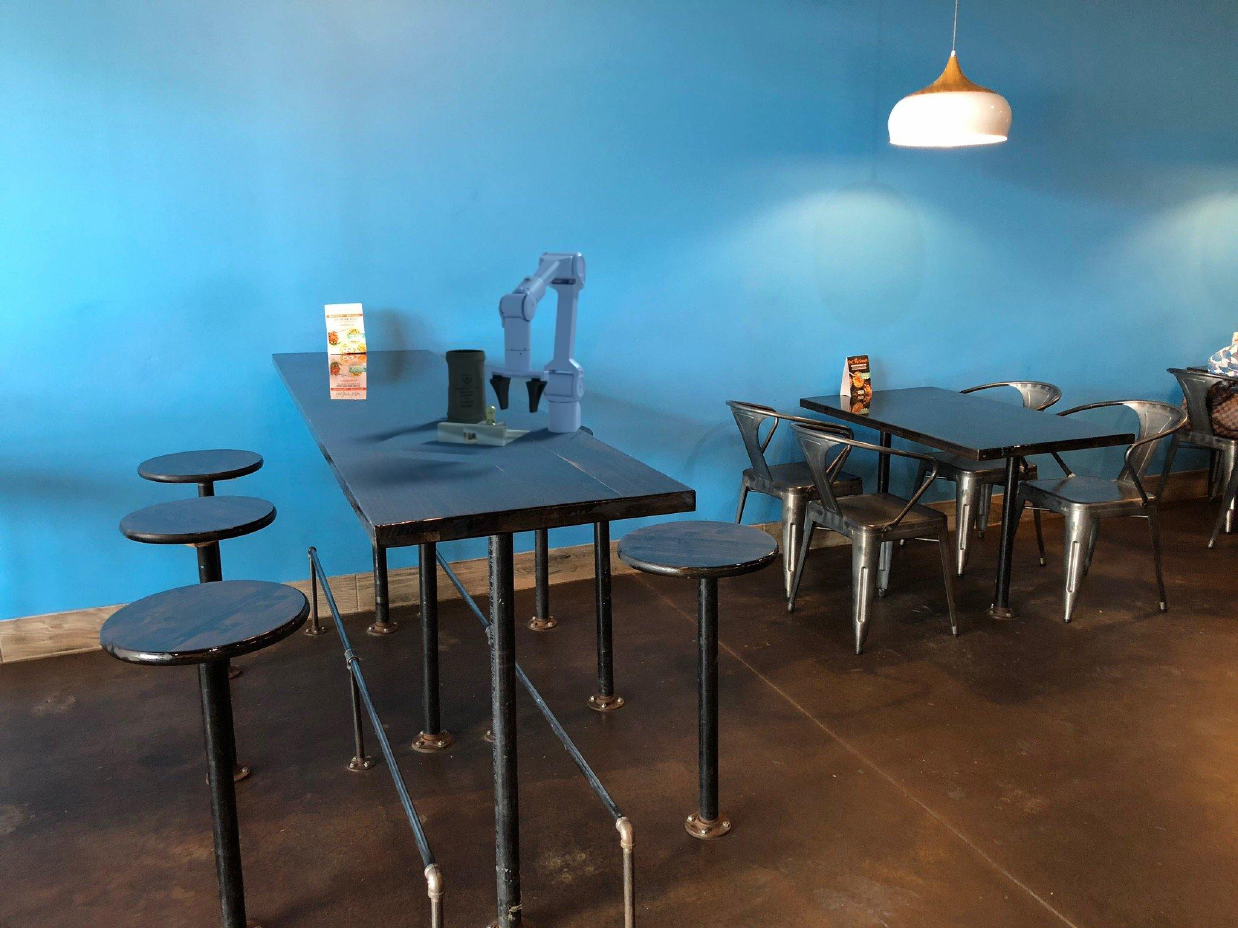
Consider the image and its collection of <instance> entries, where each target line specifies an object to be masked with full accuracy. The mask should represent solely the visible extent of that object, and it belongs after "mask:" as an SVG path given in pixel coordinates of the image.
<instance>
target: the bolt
mask: <svg viewBox="0 0 1238 928" xmlns="http://www.w3.org/2000/svg"><path fill="white" fill-rule="evenodd" d="M496 411H497V409H496V407H495V406H493V405H488V406H486V413H487V425H495V424H496ZM475 438H477V433H475Z"/></svg>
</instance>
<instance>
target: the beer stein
mask: <svg viewBox="0 0 1238 928" xmlns="http://www.w3.org/2000/svg"><path fill="white" fill-rule="evenodd" d="M486 359H487V358H486V353H485V350H483V349H482V350H481V349H467V348H466V349H452V350H447V351H446V352H445V361H446V364H447V372H448V375H447V377H448V387H447V412H446V416H447V417H446V418H447V419H446V423H462V424H477V423H480V422H482V421H487V413H486V408H487V398H486V396H487V395H486V379H485V374H486V373H485V361H486Z"/></svg>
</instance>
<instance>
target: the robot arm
mask: <svg viewBox="0 0 1238 928" xmlns="http://www.w3.org/2000/svg"><path fill="white" fill-rule="evenodd" d="M586 271H587V263H586V259H585V257H584V255H583V254H582V252H580V251H579V252H549V251H544V252H542V254H541V255H540V256H539V262H538V269H537V270H536V271H535V273H534V274H533V275H526V276H524V278H523V280H522V281H521V282H520V283H519V284H518V285H517V287H516V288H515V289H514V290H513V291H512V292H511V293H509V292H508V293H505V294H504V295H503V296H501V297H500V299H499V304H498V314H499V317H500V320H501V321H500V322H501V327H502V328H503V329H504V330H503V334H504V366H490V367H487V376H488V377H491V378H490V379H489V384H490V385H491V387H492V388H493V390H494V393H495V396H496V398H497V402H498V406H499V409H500V410H501V411H504V410H508V409H509V402H510V401H509V392H510V391H509V390H510V383H511V379H523V380H525V379H526V381H525V385H526V389H527V395H528V411H529V413H530V414H535V413H537V412H538V409H539V404H540V402H541V401H540V400H541V398H542V396H543V397H545V401H547V431H548V432H551V433H560V434H568V433H574V432H577V431H578V429H579V428H581V424H582V423H581V419H582V418H581V415H582V414H581V413H582V412H581V409H582V408H581V405H580V403H579V400H581V398H582V397H583V396H584V394H585V391H586V382H585V369H584V368H583V367H582V366H581V365H580V364H579V363H578V362H577V361H576V360H575V359H574V358H575V349H576V348H575V347H576V335H577V319H578V309H579V308H578V307H579V306H578V305H579V292H580V291H582V290H583V289H585V283H586V275H587V274H586ZM547 286H549V288H551V289H553V290H555V292H556V293H557V303H556V304H557V305H556V306H557V307H556V317H555V318H556V319H555V330H554V331H555V333H554V346H553V358H552V359H551V360H550V361H549V362H547V363H546V364H545V365H544V366H543V370H542V369H536V368H532V336H531V333H532V331H531V329H532V328H531V327H532V325H531V324H532V323H531V321H532V320H533V319H534V318H535V315H536V310H537V308H538V304H539V303H540V301H541V300H542V299H543V298H544V297H545V296H546V295H545V294H546V293H547V288H546V287H547ZM566 372H567V373H566ZM527 380H528V381H527ZM583 433H585V430H582V431H580V432H578V433H577V434H576V435H574V436H572V437H571V438H570V440H573V439H576V438H577V437H579V436H580V435H582V434H583Z"/></svg>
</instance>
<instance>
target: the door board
mask: <svg viewBox="0 0 1238 928" xmlns="http://www.w3.org/2000/svg"><path fill="white" fill-rule="evenodd" d="M506 423H507V422H506V421H499V422H497V423H495V425H487V421H482V422H480V423H477V424H462V423H447V421H446V422H443V421H442V422H439V423H437V426H436V427H437V442H438V443H439V442H442V443H455V444H457V443H458V444H469V445H470V444H471V445H482V446H483V445H486V446H497V447H498V446H499V447H504V446H506V445H508V444H510V443H511V442H513V441H516V440H517V439H519V438H521V437H522V436H524V435H526V434H528V433H530V432H531V431H530V430H523V429H522V430H520V429H508V426H507V424H506ZM475 433H477V438H475Z"/></svg>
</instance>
